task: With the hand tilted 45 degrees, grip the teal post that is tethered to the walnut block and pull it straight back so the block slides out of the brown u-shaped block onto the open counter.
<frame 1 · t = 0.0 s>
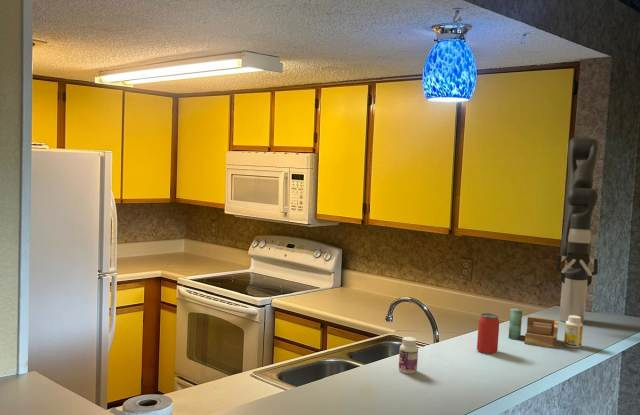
hand: (575, 284, 237), 17 cm above the worktop, tool pointing down, fingers open, 8 cm apart
beer can: (486, 352, 206), on the worktop
pill bottle: (407, 371, 184), on the worktop
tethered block: (541, 341, 220), on the worktop
supplement bottle: (572, 346, 217), on the worktop
brown u-shaped block: (541, 341, 220), on the worktop
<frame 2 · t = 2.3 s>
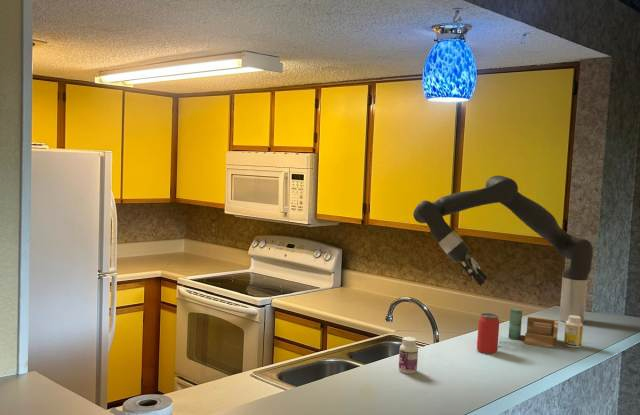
hand: (484, 281, 226), 19 cm above the worktop, tool tilted 45°, fingers open, 8 cm apart
nothing on the worktop moved.
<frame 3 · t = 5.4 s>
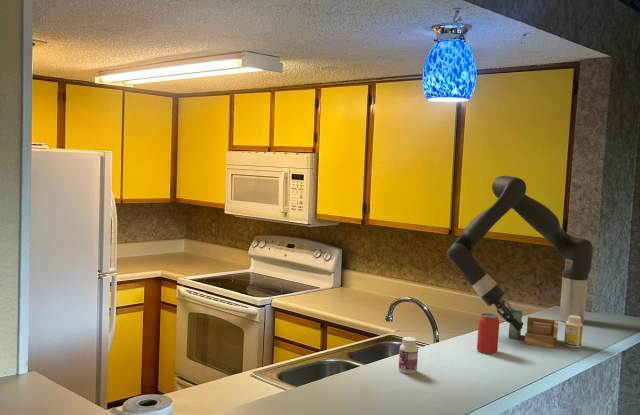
hand: (520, 327, 222), 4 cm above the worktop, tool tilted 45°, fingers closed on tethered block, 4 cm apart
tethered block: (541, 341, 220), on the worktop, touching gripper
everything else where it was.
when the fingers open (4 cm above the worktop, at t = 9.0 s): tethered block stays where it is, on the worktop.
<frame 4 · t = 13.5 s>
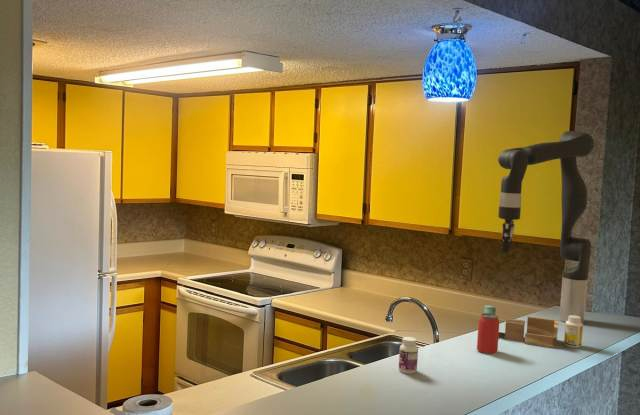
hand: (506, 250, 227), 30 cm above the worktop, tool pointing down, fingers open, 8 cm apart
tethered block: (514, 337, 223), on the worktop
everything else where it was.
at the end: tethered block inside the target area (5.2 cm from its centre), on the worktop; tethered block tilted 0°; the gripper is holding nothing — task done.
